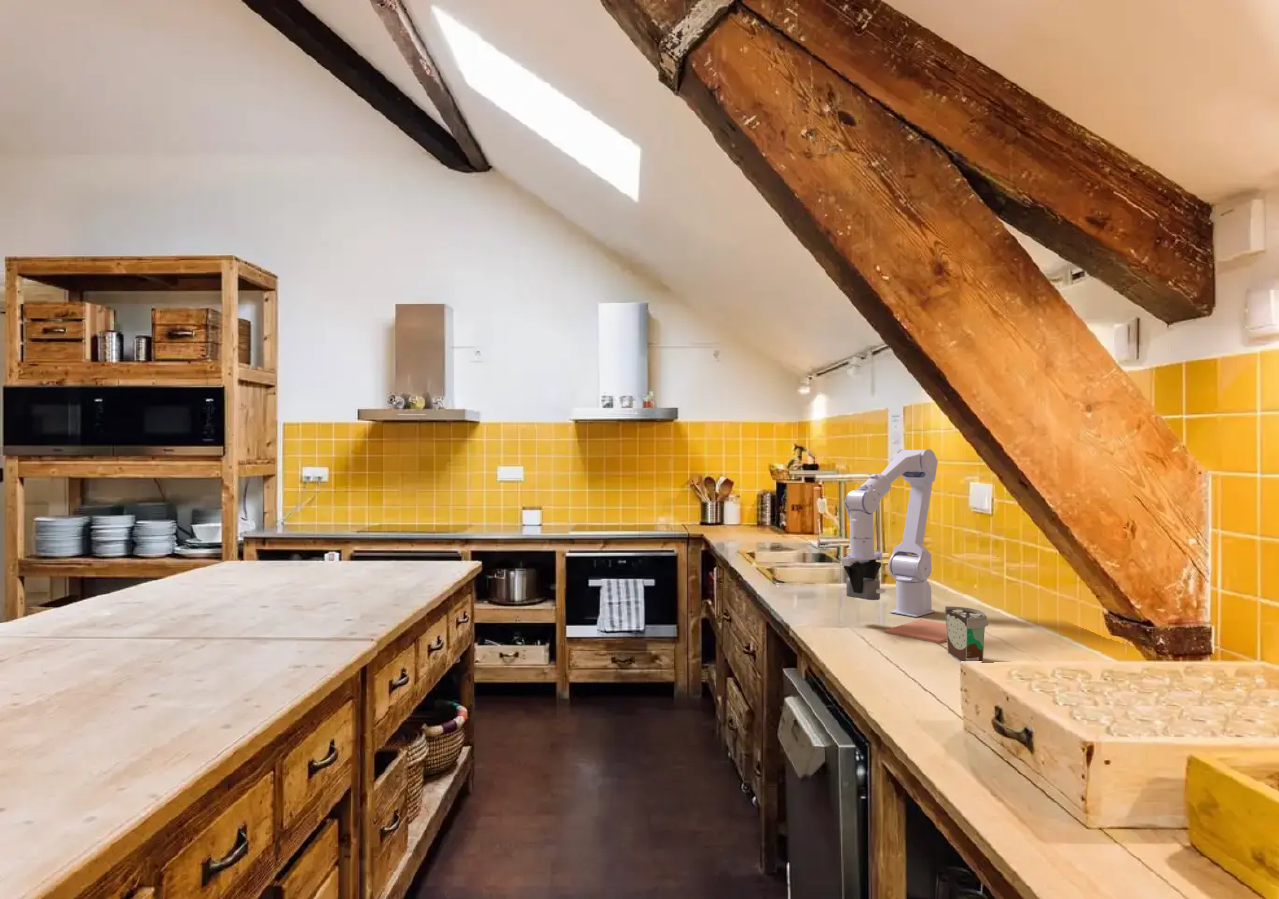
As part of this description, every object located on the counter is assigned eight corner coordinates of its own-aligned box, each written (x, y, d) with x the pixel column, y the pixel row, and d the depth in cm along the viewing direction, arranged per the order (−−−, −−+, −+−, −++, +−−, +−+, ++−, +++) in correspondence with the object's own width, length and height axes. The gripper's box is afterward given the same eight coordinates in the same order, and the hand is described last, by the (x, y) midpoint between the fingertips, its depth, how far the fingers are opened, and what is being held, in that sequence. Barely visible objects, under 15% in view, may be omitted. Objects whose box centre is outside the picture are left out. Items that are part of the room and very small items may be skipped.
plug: (852, 593, 192) (852, 576, 192) (887, 599, 184) (887, 581, 184) (843, 595, 189) (843, 578, 189) (878, 601, 181) (878, 583, 181)
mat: (920, 621, 189) (920, 619, 189) (974, 631, 178) (974, 629, 178) (884, 632, 179) (884, 629, 179) (939, 643, 168) (939, 640, 168)
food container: (1000, 668, 149) (999, 618, 149) (969, 668, 149) (968, 618, 149) (973, 651, 161) (972, 605, 161) (945, 651, 161) (944, 605, 161)
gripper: (865, 534, 195) (866, 585, 195) (831, 539, 185) (832, 593, 185) (888, 536, 189) (890, 589, 189) (855, 541, 180) (856, 597, 180)
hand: (863, 591), depth 187 cm, fingers closed on plug, 4 cm apart
